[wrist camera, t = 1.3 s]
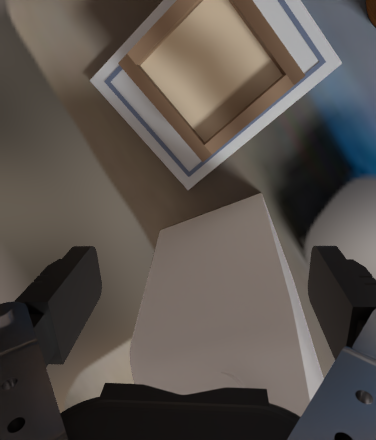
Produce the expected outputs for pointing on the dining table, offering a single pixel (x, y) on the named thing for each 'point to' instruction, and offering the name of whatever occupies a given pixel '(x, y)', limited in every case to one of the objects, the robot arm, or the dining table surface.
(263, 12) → the board
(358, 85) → the dining table surface
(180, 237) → the milk
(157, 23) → the square wooden tray
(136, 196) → the dining table surface
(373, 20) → the disposable coffee cup
